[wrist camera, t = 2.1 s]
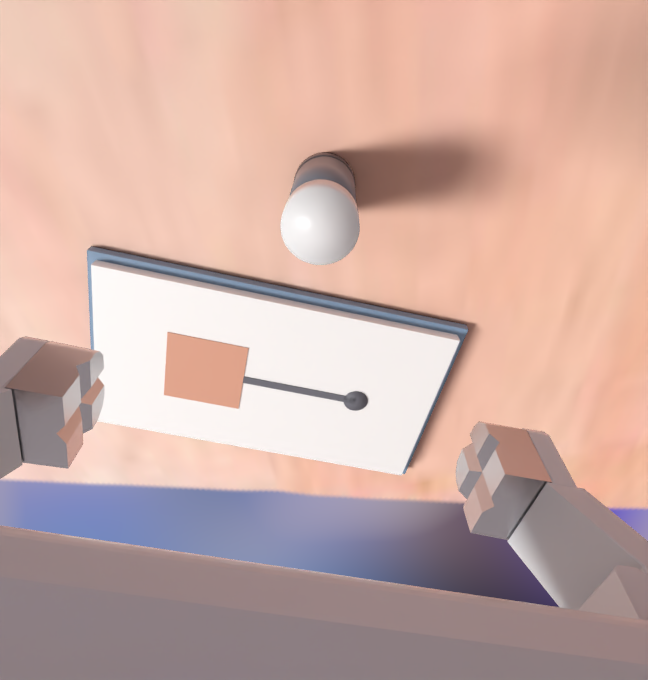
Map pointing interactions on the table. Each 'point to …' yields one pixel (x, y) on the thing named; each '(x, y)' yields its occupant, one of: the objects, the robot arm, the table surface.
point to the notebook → (264, 363)
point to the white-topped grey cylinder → (321, 211)
